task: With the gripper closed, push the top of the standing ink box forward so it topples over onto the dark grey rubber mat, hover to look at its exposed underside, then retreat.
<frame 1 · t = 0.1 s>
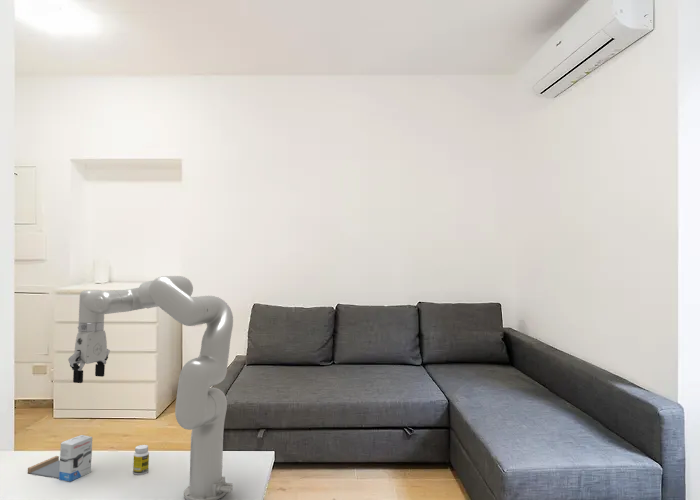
hand: (89, 379, 163), 31 cm above the table, fingers open, 9 cm apart
ink box: (75, 476, 161), on the table
mat: (57, 469, 165), on the table
supplement bottle: (140, 472, 165), on the table
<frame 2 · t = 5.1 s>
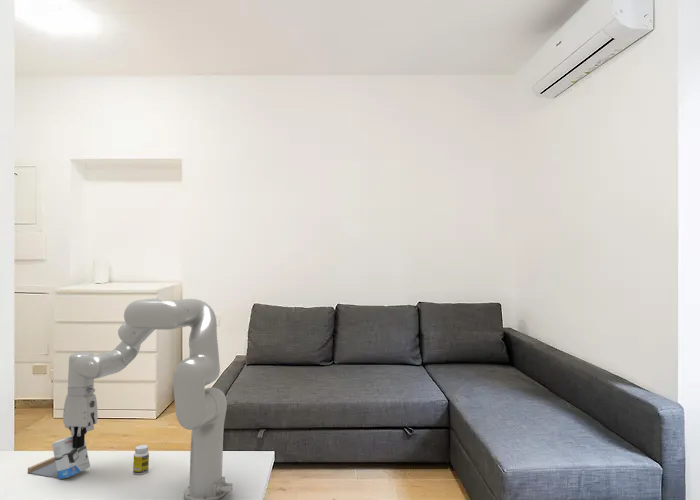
hand: (78, 447, 161), 9 cm above the table, fingers closed
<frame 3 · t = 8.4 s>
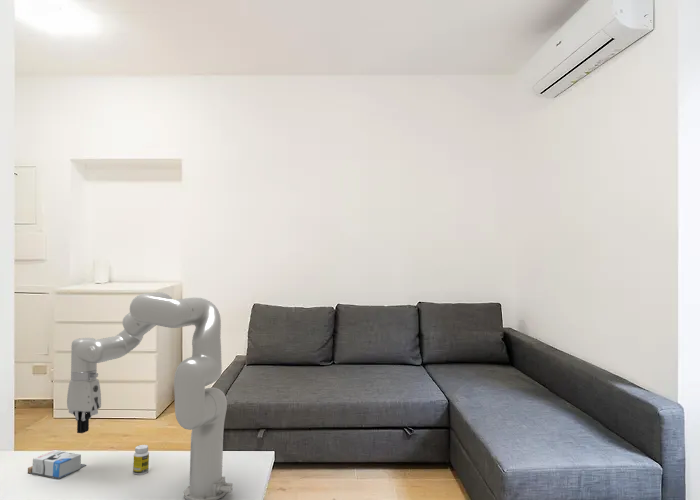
hand: (82, 431, 163), 14 cm above the table, fingers closed
ink box: (71, 465, 162), point 3 cm above the table, touching mat
everything else where it was.
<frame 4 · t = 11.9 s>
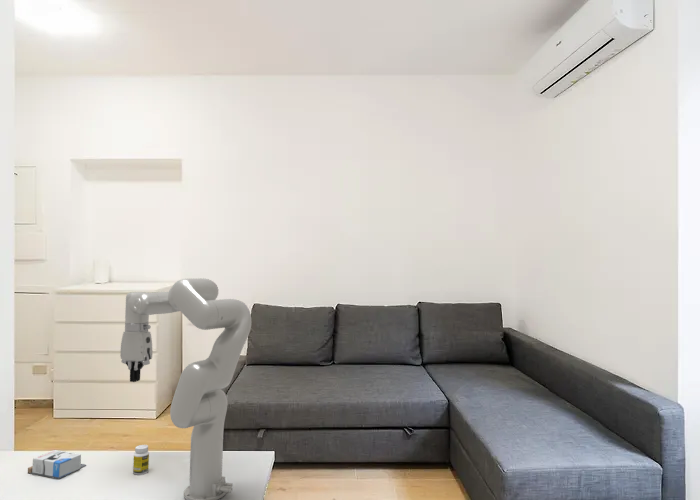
hand: (134, 381, 170), 29 cm above the table, fingers closed
nothing on the table moved.
at the end: ink box tilted 90°; ink box inside the target area (7.0 cm from its centre), point 2.9 cm above the table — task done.
